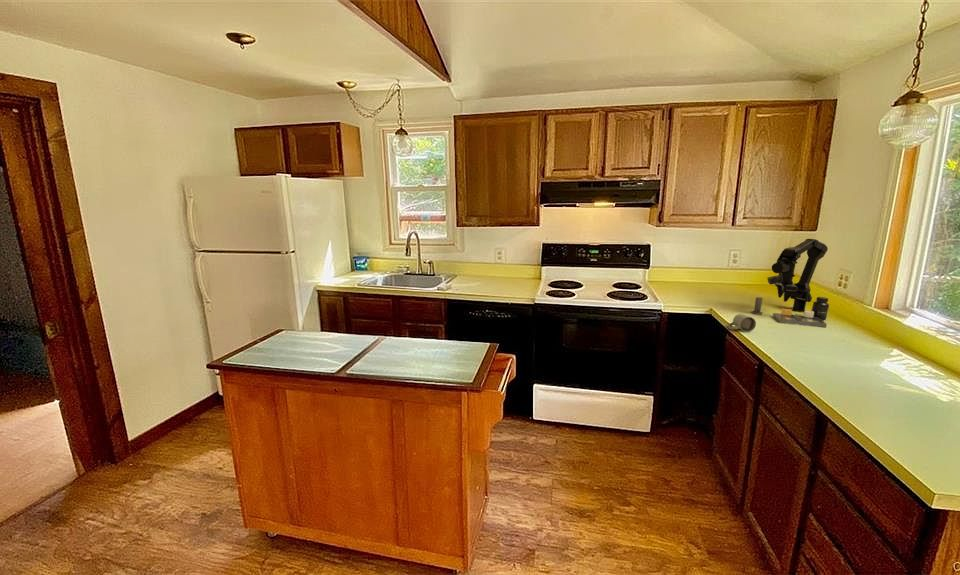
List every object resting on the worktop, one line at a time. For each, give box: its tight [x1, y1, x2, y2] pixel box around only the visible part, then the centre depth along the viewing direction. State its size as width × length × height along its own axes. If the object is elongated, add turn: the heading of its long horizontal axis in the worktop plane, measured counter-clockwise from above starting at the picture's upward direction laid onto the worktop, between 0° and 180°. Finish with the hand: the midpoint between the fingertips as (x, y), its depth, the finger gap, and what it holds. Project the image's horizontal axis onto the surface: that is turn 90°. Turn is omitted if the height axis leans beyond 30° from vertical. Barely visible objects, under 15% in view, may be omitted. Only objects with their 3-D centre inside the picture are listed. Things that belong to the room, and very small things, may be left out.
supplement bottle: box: [811, 296, 830, 322], centre depth 227 cm, size 7×7×12 cm
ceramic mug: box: [727, 313, 757, 333], centre depth 209 cm, size 11×8×8 cm
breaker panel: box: [772, 312, 827, 328], centre depth 223 cm, size 12×20×3 cm, turn 71°
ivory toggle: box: [803, 310, 814, 318], centre depth 223 cm, size 2×4×3 cm, turn 71°
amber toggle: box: [781, 308, 793, 316], centre depth 227 cm, size 2×4×3 cm, turn 71°
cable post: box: [750, 296, 764, 316], centre depth 236 cm, size 5×5×9 cm
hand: (782, 299), depth 235 cm, fingers open, 9 cm apart
